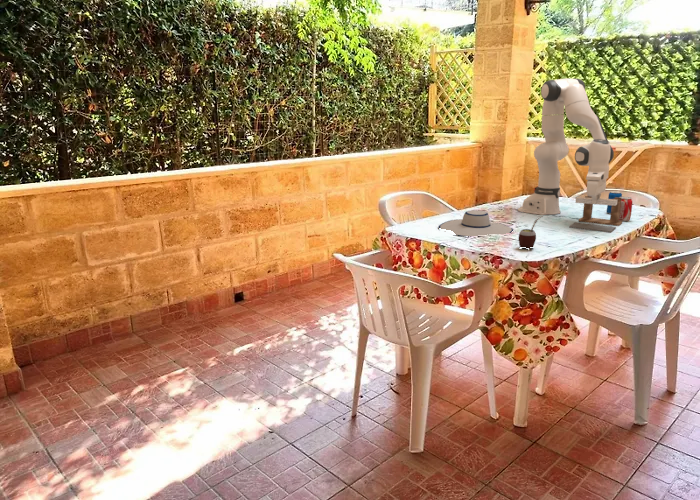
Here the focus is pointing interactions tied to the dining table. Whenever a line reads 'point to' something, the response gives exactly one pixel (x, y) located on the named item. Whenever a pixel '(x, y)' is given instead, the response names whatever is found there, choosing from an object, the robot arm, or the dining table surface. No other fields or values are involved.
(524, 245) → the mate gourd
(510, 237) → the dining table surface
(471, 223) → the sun hat
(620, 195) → the beverage can
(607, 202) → the rail
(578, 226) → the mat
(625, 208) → the soda can
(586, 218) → the rack
